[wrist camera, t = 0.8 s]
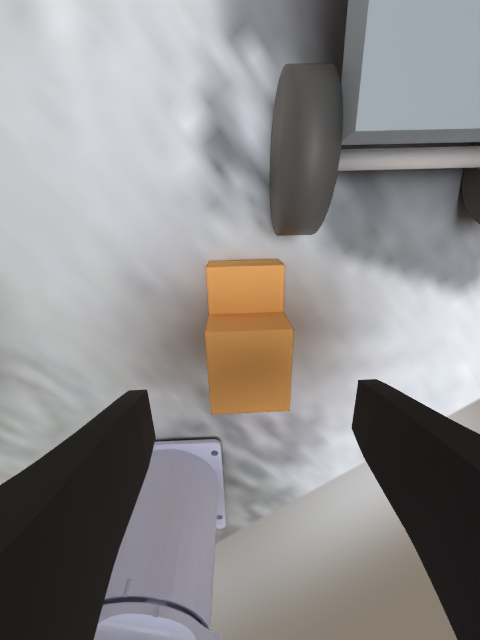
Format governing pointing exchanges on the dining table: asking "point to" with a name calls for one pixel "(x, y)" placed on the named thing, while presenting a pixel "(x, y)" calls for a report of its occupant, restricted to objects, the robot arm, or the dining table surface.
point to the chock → (248, 337)
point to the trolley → (379, 106)
